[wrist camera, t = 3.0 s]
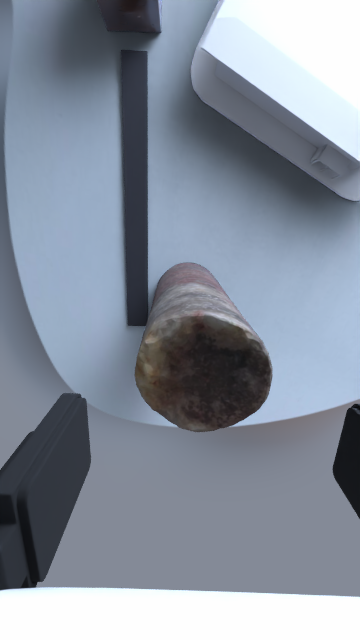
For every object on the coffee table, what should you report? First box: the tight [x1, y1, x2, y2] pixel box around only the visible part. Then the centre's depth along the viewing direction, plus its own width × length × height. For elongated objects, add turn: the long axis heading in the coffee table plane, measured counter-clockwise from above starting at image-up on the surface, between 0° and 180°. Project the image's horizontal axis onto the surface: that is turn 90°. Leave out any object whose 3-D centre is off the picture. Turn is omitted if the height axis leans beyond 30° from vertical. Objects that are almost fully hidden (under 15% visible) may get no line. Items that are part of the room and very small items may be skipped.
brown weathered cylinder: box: [135, 263, 272, 432], centre depth 23 cm, size 8×7×20 cm
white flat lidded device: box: [190, 0, 360, 201], centre depth 24 cm, size 15×23×4 cm, turn 60°
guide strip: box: [121, 50, 148, 326], centre depth 30 cm, size 2×27×1 cm, turn 178°
